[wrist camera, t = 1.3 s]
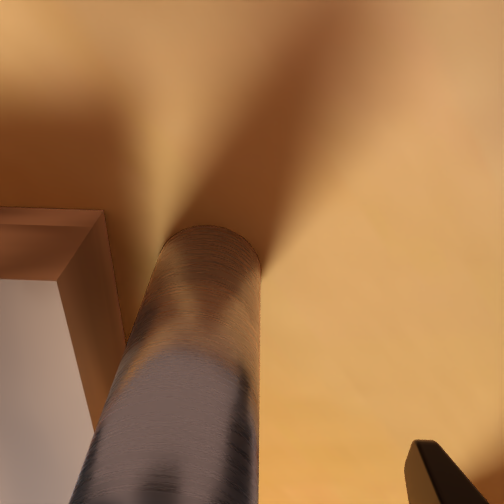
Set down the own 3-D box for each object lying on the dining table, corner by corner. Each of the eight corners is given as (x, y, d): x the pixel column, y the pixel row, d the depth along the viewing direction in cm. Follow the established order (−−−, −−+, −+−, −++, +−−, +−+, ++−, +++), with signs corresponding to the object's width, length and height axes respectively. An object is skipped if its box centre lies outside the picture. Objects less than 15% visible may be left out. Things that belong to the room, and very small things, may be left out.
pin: (262, 227, 13) (261, 497, 6) (258, 312, 15) (254, 597, 8) (153, 223, 13) (38, 489, 6) (162, 309, 15) (78, 590, 8)
